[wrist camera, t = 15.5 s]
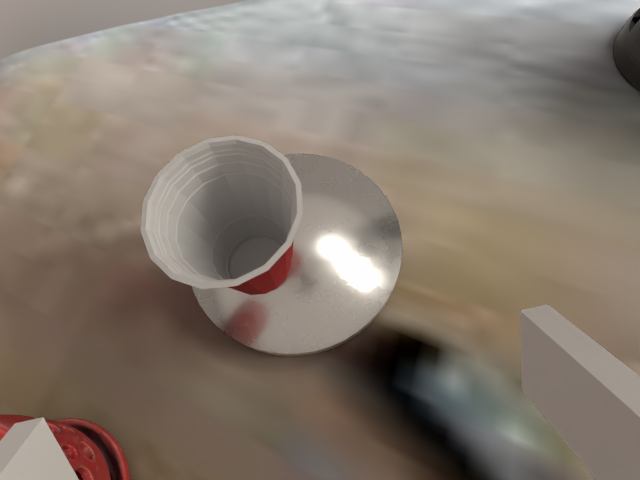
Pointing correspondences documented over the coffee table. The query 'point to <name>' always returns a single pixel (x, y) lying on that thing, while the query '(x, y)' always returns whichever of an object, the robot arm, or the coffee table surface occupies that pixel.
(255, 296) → the disc
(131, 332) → the coffee table surface
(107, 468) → the plant pot
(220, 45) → the coffee table surface
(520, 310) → the robot arm
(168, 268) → the plastic cup
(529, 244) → the coffee table surface
